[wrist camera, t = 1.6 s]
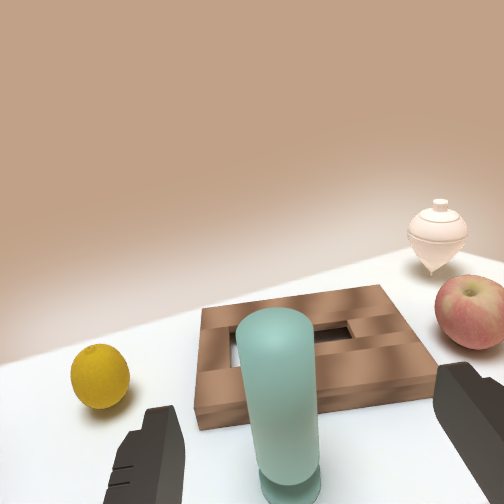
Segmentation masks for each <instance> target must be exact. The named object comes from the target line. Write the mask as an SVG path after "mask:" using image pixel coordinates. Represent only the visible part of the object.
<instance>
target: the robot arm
mask: <svg viewBox="0 0 504 504" xmlns="http://www.w3.org/2000/svg"><path fill="white" fill-rule="evenodd" d="M433 408H434V412H435V415H436V417H437V419H438V421H439V423H440V425H441V426H442V428H443V429H444V431H445V433H446V434H447V436H448V437H449V439H450V441H451V442H452V444H453V445H454V447H455V448H456V450H457V452H458V453H459V455H460V456H461V458H462V460H463V461H464V463H465V464H466V466H467V467H468V469H469V471H470V472H471V474H472V475H473V477H474V479H475V480H476V482H477V483H478V485H479V487H480V488H481V490H482V491H483V493H484V494H485V496H486V498H487V499H488V501H489V502H490V504H504V386H503V385H501V384H500V383H498V382H497V381H495V380H494V379H492V378H490V377H487V378H482V377H481V376H480V375H479V374H478V372H477V371H476V370H475V369H474V368H473V367H472V366H471V365H470V364H469V363H468V362H458V363H451V364H445V365H440V366H439V367H438V368H437V374H436V381H435V388H434V395H433ZM184 467H185V444H184V438H183V435H182V432H181V428H180V425H179V422H178V419H177V415H176V412H175V409H174V407H173V405H170V406H163V407H156V408H150V409H147V410H146V412H145V415H144V419H143V424H142V429H141V430H135V431H129V433H128V434H127V436H126V437H125V439H124V440H123V442H122V443H121V445H120V446H119V448H118V450H117V453H116V457H115V461H114V465H113V468H112V469H113V472H112V473H111V476H110V480H109V483H108V489H107V491H106V494H105V498H104V502H103V504H181V502H182V491H183V479H184Z"/></svg>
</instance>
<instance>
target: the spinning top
mask: <svg viewBox="0 0 504 504" xmlns="http://www.w3.org/2000/svg"><path fill="white" fill-rule="evenodd" d="M447 206H448V201H447V200H445V199H435V200H433V208H429V209H425V210H423V211H421V212H419V214H417V215H416V216H415V217H414V218H413V219H412V220H411V222H410V224H409V226H408V231H407V234H408V240H409V242H410V244H411V247H412V249H413V251H414V252H415V254H416V255H417V256H418V258H419V259H420V261H421V262H422V263H423V264H424V266H425V267H426V268H427V269H428V270H429V271H430V276H432V275H433V271H435V270H437V269H438V268H440V267H441V266H443V265H444V264H445V263H447V262H448V261H449V260H450V259H451V258H453V257H454V256H455V255H456V254H457V253H458V251H459V250H460V249H461V248H462V247H463V245H464V243H465V242H466V239H467V236H468V229H467V226H466V223H465V222H464V221H463V219H462V218H461V217H460V215H459V214H458V213H456V212H455V211H453V210H450V209H447Z"/></svg>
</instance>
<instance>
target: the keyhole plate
mask: <svg viewBox="0 0 504 504" xmlns="http://www.w3.org/2000/svg"><path fill="white" fill-rule="evenodd" d="M273 307H283V308H290V309H293V310H296V311H299V312H301V313H302V314H304V315H305V316H307V317H308V318H309V320H310V321H311V323H312V325H313V328H314V331H320V330H327V329H335V328H342V327H347V328H348V330H349V332H350V334H351V336H352V338H351V339H344V340H337V341H330V342H322V343H315V344H314V350H315V372H316V393H317V414H320V413H327V412H334V411H341V410H348V409H355V408H362V407H369V406H376V405H383V404H390V403H397V402H404V401H411V400H419V399H426V398H433V395H434V388H435V381H436V374H437V368H438V367H439V366H438V364H437V363H436V361H435V360H434V359H433V357H432V356H431V355H430V353H429V352H428V350H427V349H426V348H425V346H424V345H423V344H422V342H421V341H420V339H419V338H418V337H417V335H416V334H415V333H414V331H413V330H412V328H411V327H410V326H409V324H408V323H407V322H406V320H405V319H404V317H403V316H402V315H401V313H400V312H399V311H398V309H397V308H396V307H395V305H394V304H393V302H392V301H391V300H390V298H389V297H388V296H387V294H386V293H385V291H384V290H383V289H382V287H381V286H380V285H379V284H378V285H371V286H364V287H357V288H349V289H342V290H335V291H327V292H320V293H313V294H305V295H298V296H291V297H283V298H276V299H269V300H262V301H254V302H247V303H240V304H232V305H225V306H218V307H210V308H203V309H202V315H201V327H200V339H199V351H198V363H197V375H196V387H195V399H194V411H195V415H196V418H197V422H198V426H199V429H200V430H207V429H214V428H221V427H228V426H235V425H242V424H249V423H250V418H249V412H248V406H247V400H246V394H245V389H244V383H243V377H242V371H241V367H233V368H231V359H230V334H232V333H236V329H237V327H238V325H239V324H240V322H241V321H242V320H243V319H244V318H245V317H247V316H248V315H250V314H252V313H254V312H256V311H259V310H262V309H266V308H273Z"/></svg>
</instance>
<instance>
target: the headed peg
mask: <svg viewBox="0 0 504 504" xmlns="http://www.w3.org/2000/svg"><path fill="white" fill-rule="evenodd" d="M236 342H237V348H238V353H239V359H240V365H241V371H242V377H243V383H244V389H245V394H246V400H247V406H248V412H249V418H250V424H251V429H252V435H253V441H254V447H255V453H256V459H257V463H258V466H259V476H260V482H261V488H262V492H263V494H264V496H265V498H266V500H267V501H268V502H269V503H270V504H313V503H314V502H315V500H316V499H317V497H318V494H319V492H320V486H321V479H320V466H319V436H318V415H317V393H316V372H315V350H314V328H313V325H312V323H311V321H310V320H309V318H308V317H307V316H305V315H304V314H302V313H301V312H299V311H296V310H293V309H290V308H283V307H273V308H266V309H262V310H259V311H256V312H254V313H252V314H250V315H248V316H247V317H245V318H244V319H243V320H242V321H241V322H240V324H239V325H238V327H237V329H236Z"/></svg>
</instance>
